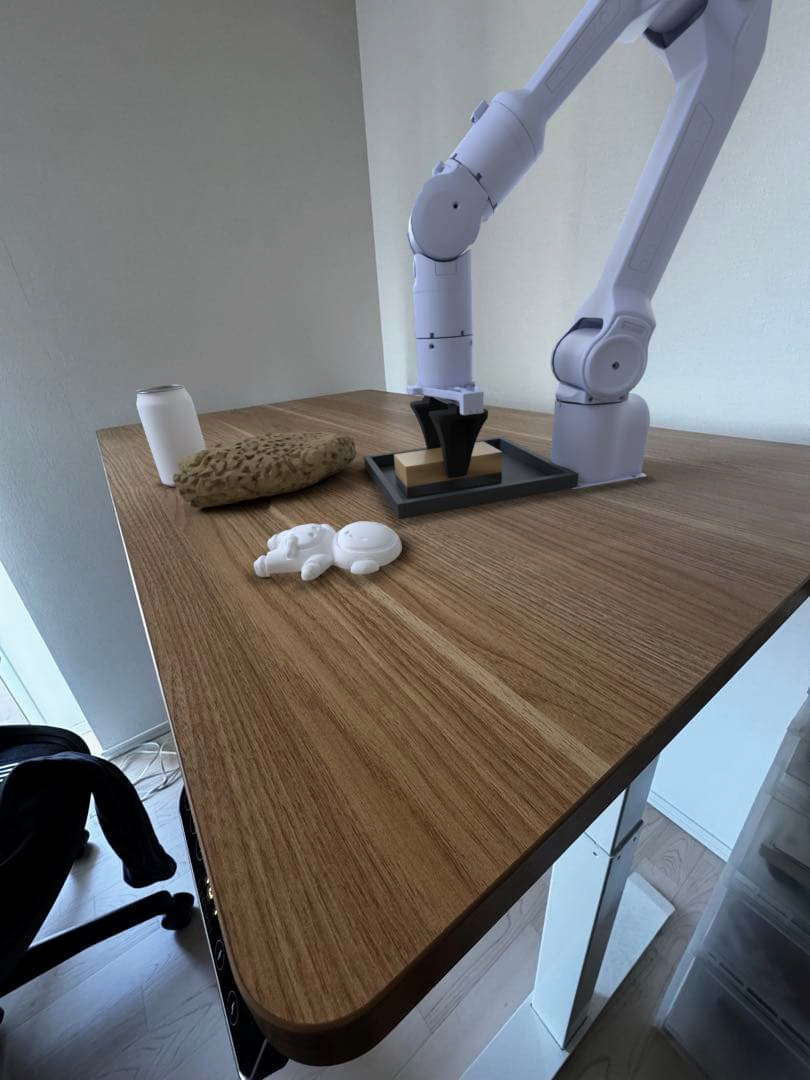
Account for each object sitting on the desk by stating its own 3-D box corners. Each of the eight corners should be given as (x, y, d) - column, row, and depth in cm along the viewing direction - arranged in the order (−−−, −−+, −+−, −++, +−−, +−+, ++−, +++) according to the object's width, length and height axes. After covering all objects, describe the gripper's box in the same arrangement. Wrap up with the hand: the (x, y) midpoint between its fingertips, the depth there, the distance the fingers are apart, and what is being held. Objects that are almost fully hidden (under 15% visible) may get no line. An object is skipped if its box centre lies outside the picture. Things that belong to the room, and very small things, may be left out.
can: (218, 479, 60) (192, 386, 55) (166, 491, 57) (134, 394, 52) (207, 468, 65) (183, 382, 60) (159, 479, 62) (128, 389, 57)
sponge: (189, 533, 48) (365, 474, 49) (155, 463, 46) (340, 402, 46) (222, 508, 61) (361, 461, 61) (197, 452, 58) (342, 404, 59)
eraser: (483, 469, 54) (483, 441, 53) (501, 482, 50) (502, 451, 48) (396, 483, 52) (393, 454, 50) (407, 498, 48) (405, 466, 46)
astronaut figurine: (281, 537, 43) (274, 508, 41) (405, 533, 42) (403, 503, 40) (245, 588, 35) (235, 554, 34) (397, 585, 34) (393, 550, 32)
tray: (502, 451, 63) (502, 436, 62) (576, 492, 47) (578, 473, 47) (365, 471, 59) (363, 456, 58) (399, 524, 43) (397, 504, 43)
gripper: (388, 337, 50) (397, 456, 56) (428, 343, 37) (435, 495, 43) (447, 332, 51) (450, 448, 57) (506, 335, 38) (501, 484, 45)
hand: (447, 468), depth 50 cm, fingers closed on eraser, 5 cm apart
